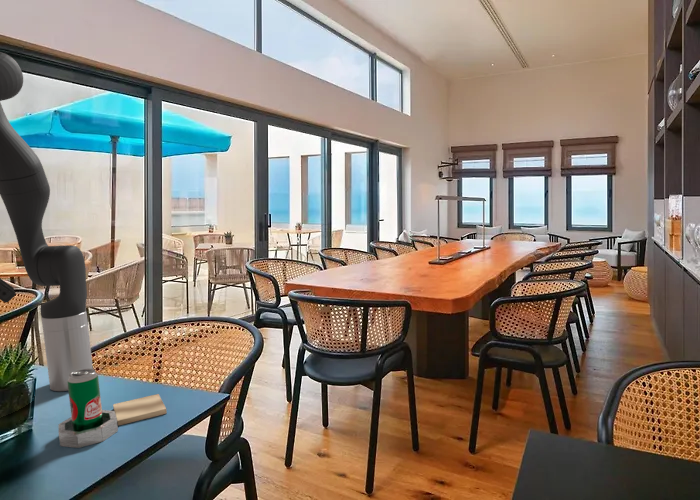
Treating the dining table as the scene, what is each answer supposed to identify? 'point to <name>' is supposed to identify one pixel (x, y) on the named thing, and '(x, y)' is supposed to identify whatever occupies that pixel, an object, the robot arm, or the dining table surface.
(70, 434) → the ring
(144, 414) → the board
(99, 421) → the soda can
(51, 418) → the dining table surface
